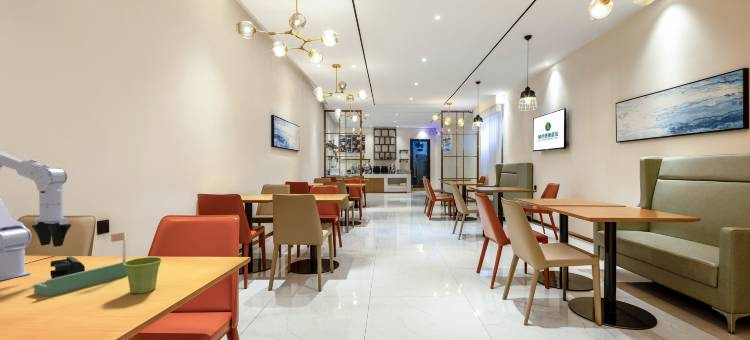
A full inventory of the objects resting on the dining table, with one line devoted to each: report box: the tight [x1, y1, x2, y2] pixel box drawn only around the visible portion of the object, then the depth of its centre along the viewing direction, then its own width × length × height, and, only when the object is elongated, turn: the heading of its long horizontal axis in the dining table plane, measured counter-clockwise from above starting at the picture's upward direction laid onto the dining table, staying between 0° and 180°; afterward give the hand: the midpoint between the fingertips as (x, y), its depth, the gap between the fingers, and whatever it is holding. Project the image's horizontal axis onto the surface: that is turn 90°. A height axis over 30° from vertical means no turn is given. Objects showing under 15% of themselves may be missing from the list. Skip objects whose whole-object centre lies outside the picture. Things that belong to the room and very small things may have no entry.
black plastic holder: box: [50, 256, 86, 279], centre depth 113 cm, size 10×7×7 cm
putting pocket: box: [33, 231, 128, 297], centre depth 110 cm, size 7×22×14 cm, turn 159°
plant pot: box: [123, 256, 163, 295], centre depth 103 cm, size 9×9×9 cm
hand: (51, 245), depth 117 cm, fingers open, 6 cm apart
